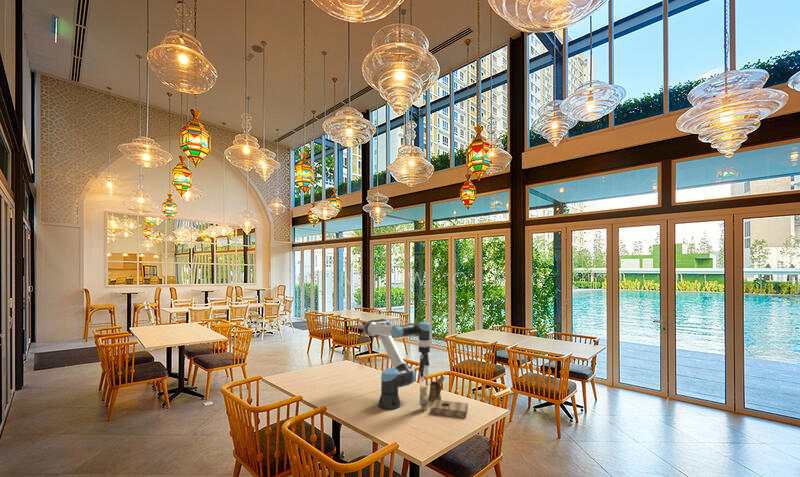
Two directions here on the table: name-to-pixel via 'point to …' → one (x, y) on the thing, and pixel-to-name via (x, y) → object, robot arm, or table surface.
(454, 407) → the board
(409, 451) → the table surface
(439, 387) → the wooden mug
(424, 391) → the dowel
